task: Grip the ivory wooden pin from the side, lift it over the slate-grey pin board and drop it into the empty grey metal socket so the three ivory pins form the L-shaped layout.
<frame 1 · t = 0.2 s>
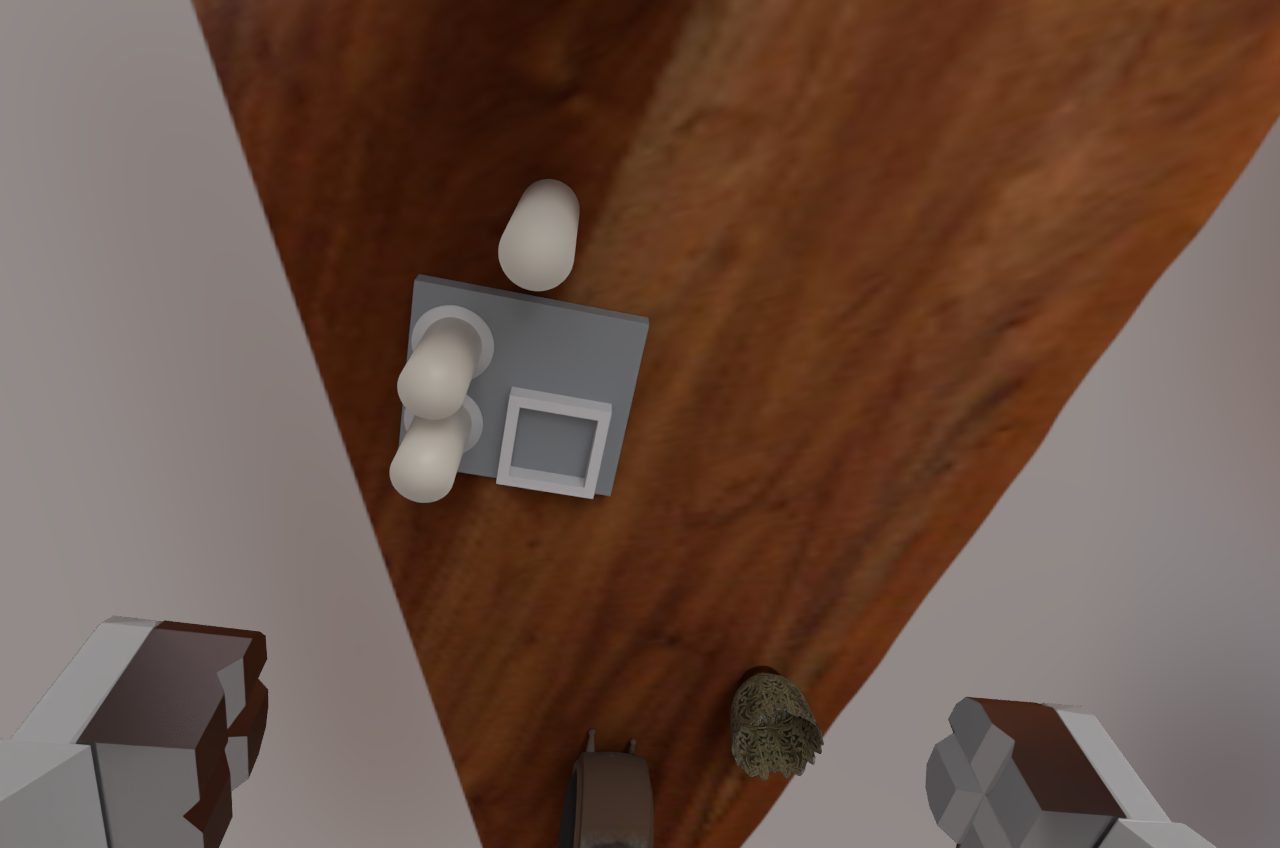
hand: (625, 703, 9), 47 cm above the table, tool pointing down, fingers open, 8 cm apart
alarm clock: (601, 763, 76), on the table
ivory pin: (549, 210, 53), on the table
cup: (759, 676, 72), on the table
pin board: (521, 387, 59), on the table
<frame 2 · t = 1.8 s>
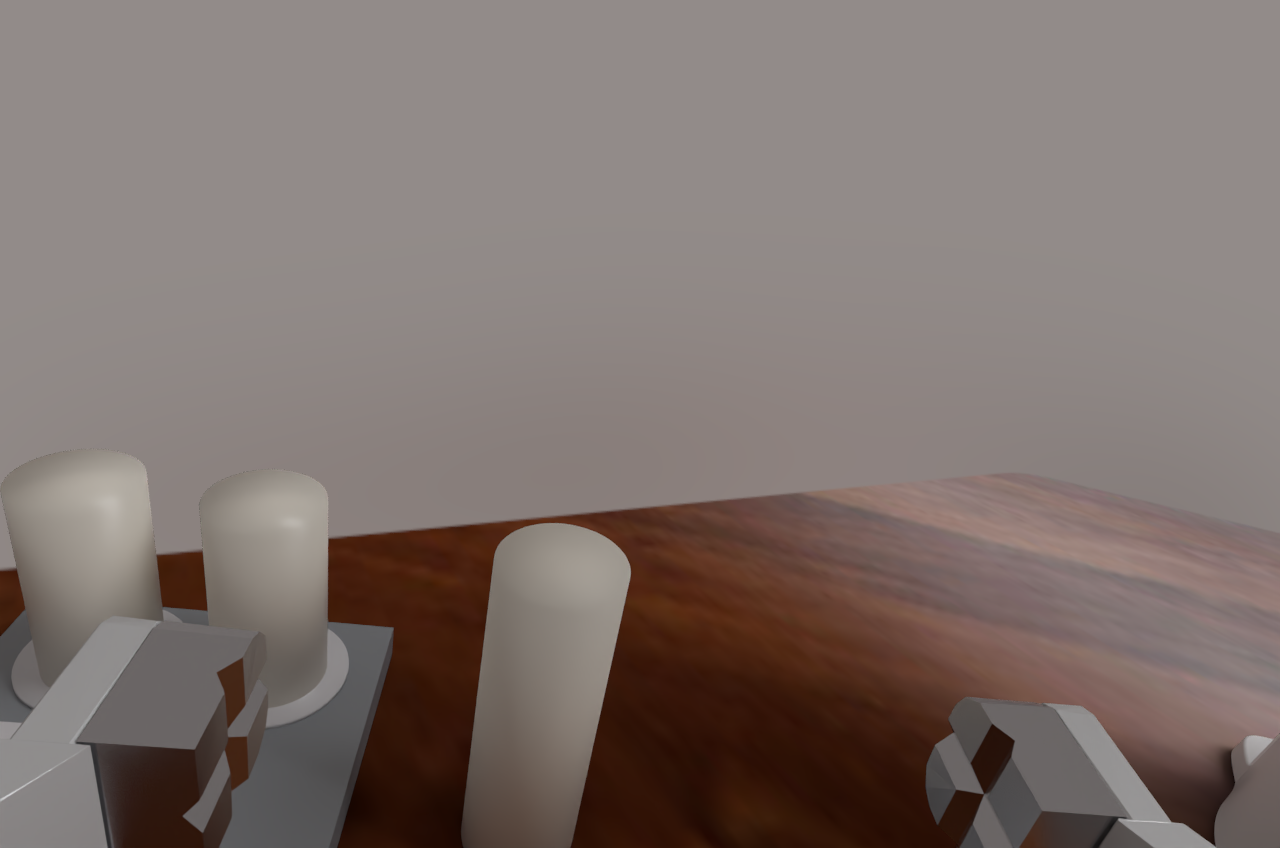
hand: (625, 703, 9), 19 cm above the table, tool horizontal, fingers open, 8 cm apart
ivory pin: (517, 829, 29), on the table
pin board: (129, 807, 27), on the table
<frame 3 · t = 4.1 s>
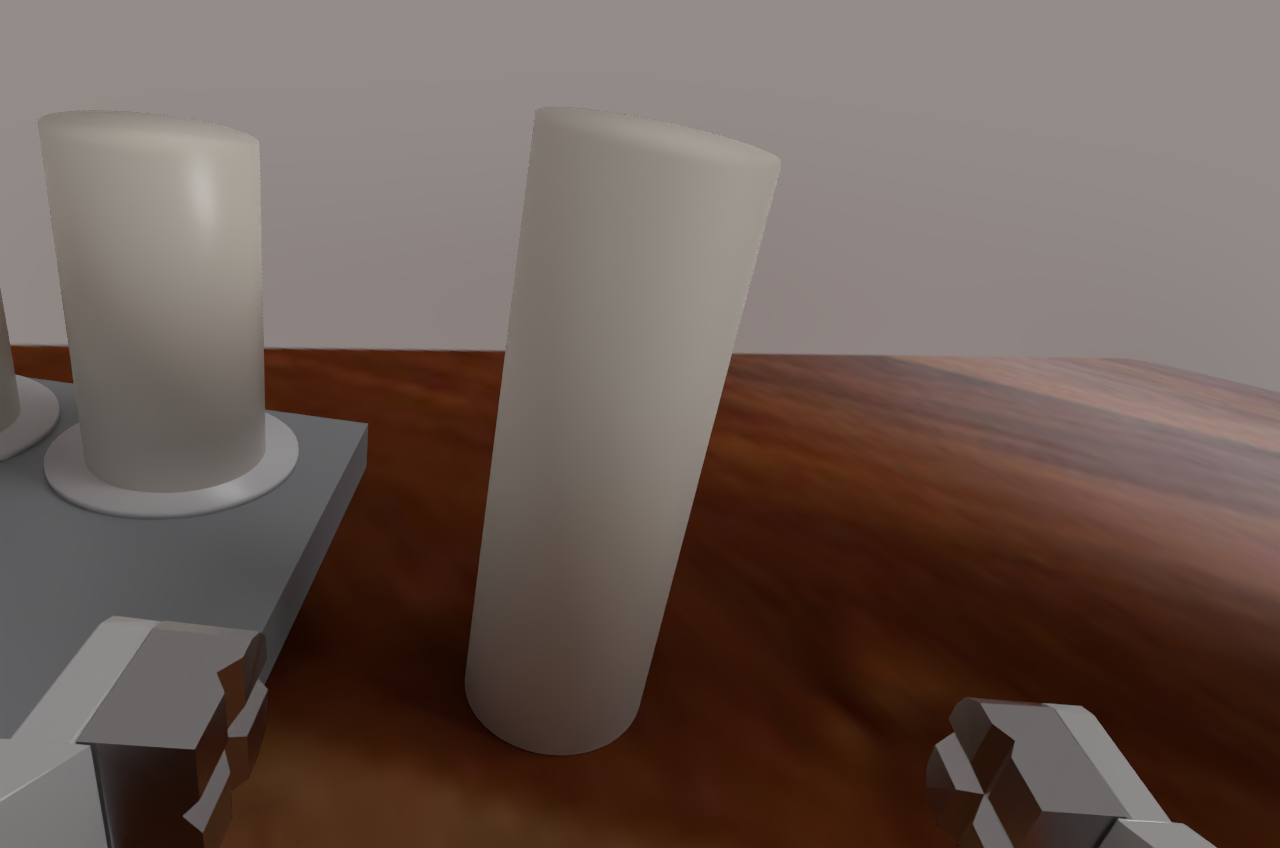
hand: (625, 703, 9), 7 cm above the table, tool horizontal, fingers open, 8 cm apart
ivory pin: (554, 682, 18), on the table
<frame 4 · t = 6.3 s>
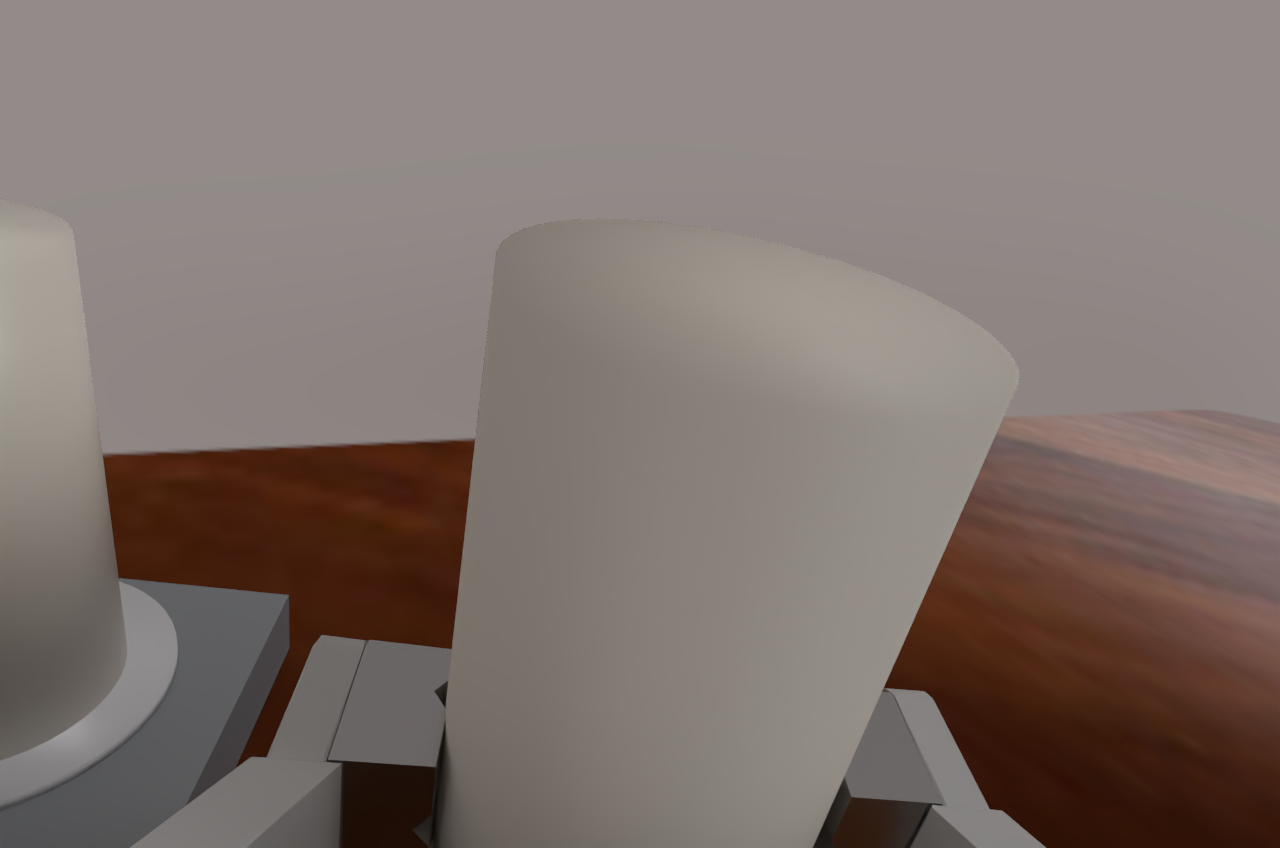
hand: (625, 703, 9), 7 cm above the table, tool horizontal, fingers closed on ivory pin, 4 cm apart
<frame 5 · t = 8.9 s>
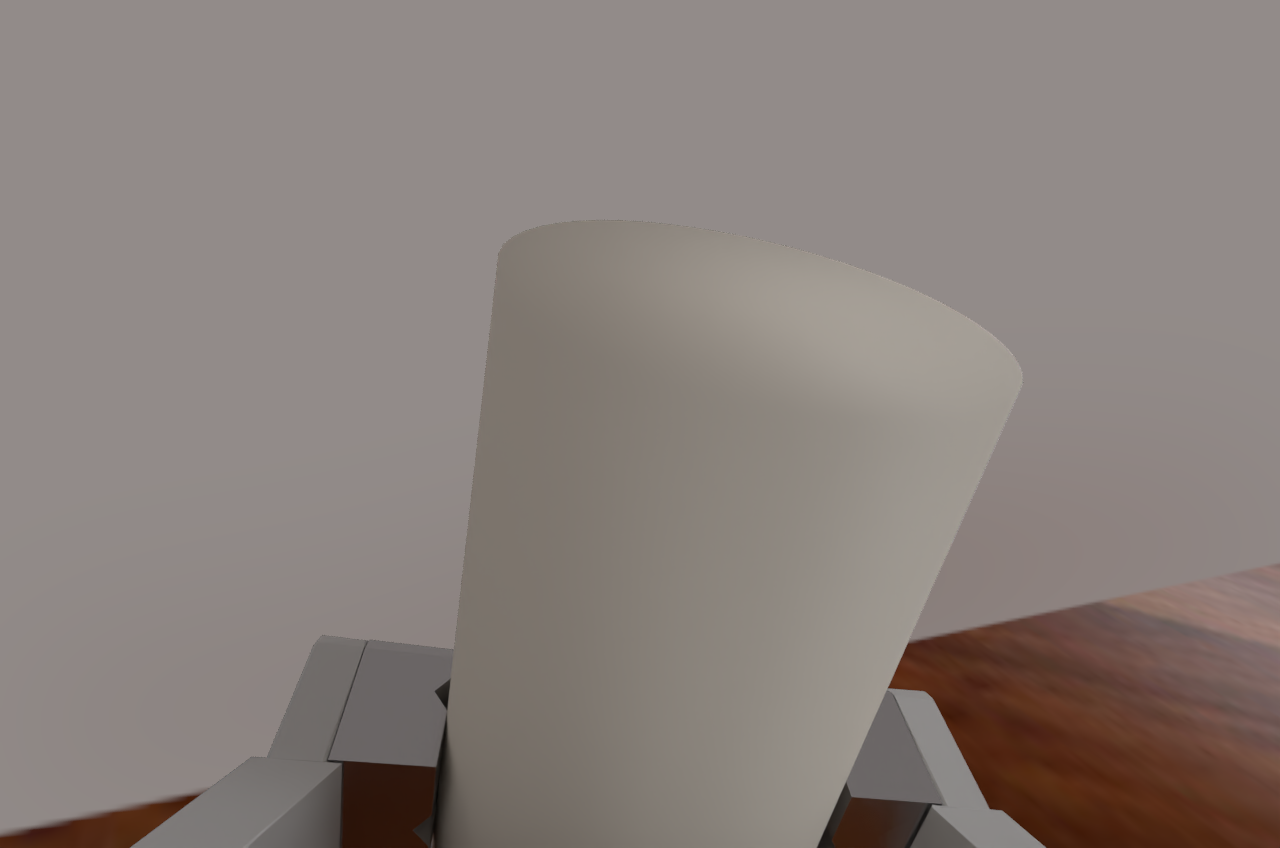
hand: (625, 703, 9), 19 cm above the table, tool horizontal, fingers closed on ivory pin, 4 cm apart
when the fingers open (9 cm above the table, at t = 11.5 s): ivory pin stays where it is, resting on pin board.
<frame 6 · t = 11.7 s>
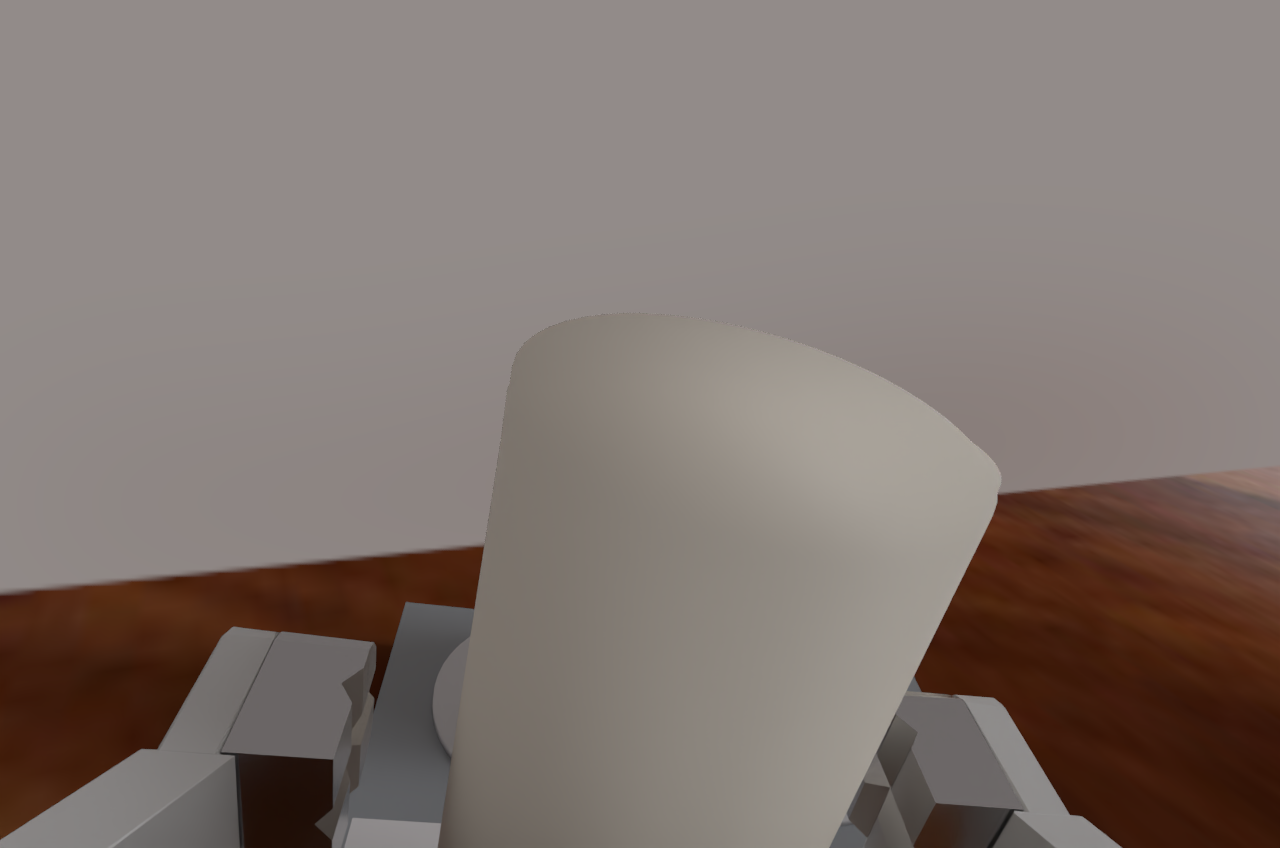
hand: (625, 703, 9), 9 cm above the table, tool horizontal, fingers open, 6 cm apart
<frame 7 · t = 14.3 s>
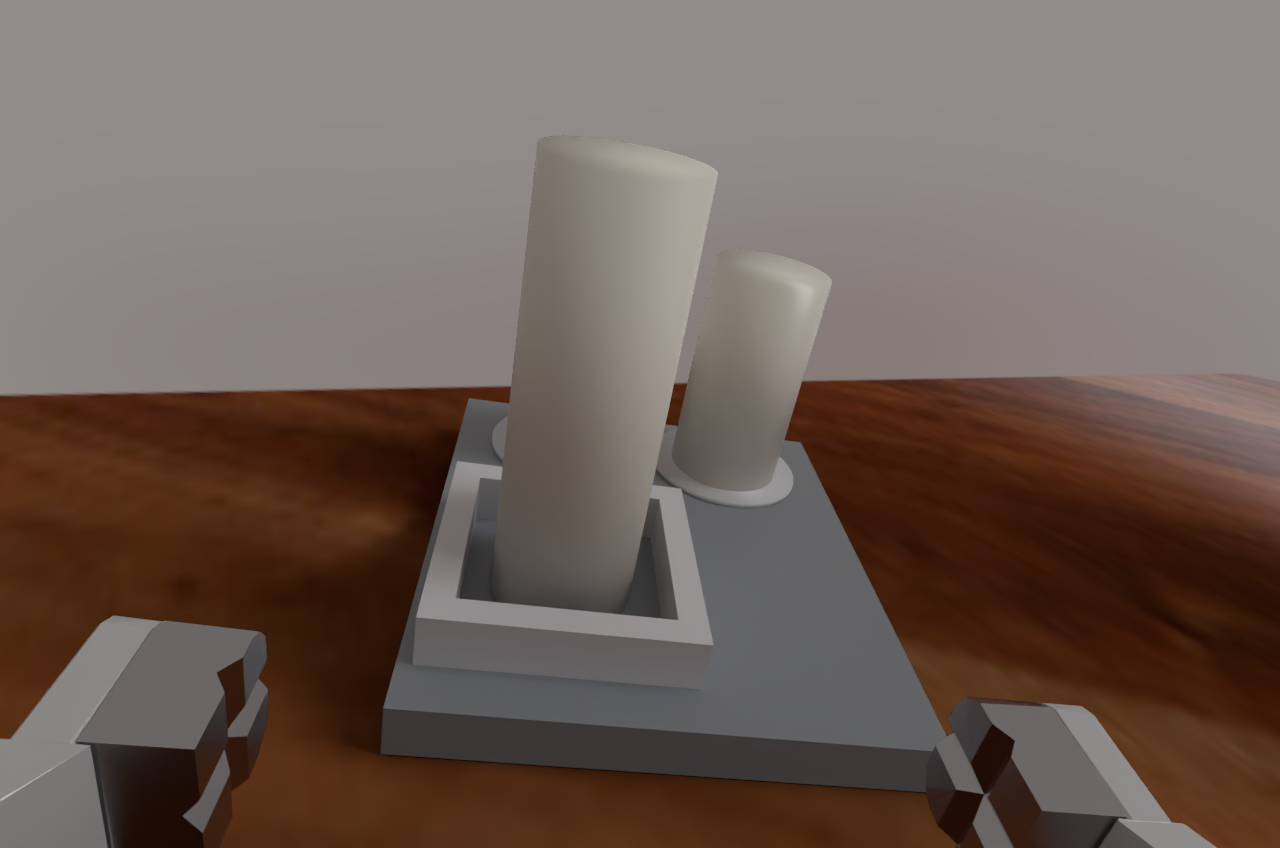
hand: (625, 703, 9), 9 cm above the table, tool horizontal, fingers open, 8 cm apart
ivory pin: (560, 584, 23), point 2 cm above the table, touching pin board
pin board: (647, 571, 27), on the table
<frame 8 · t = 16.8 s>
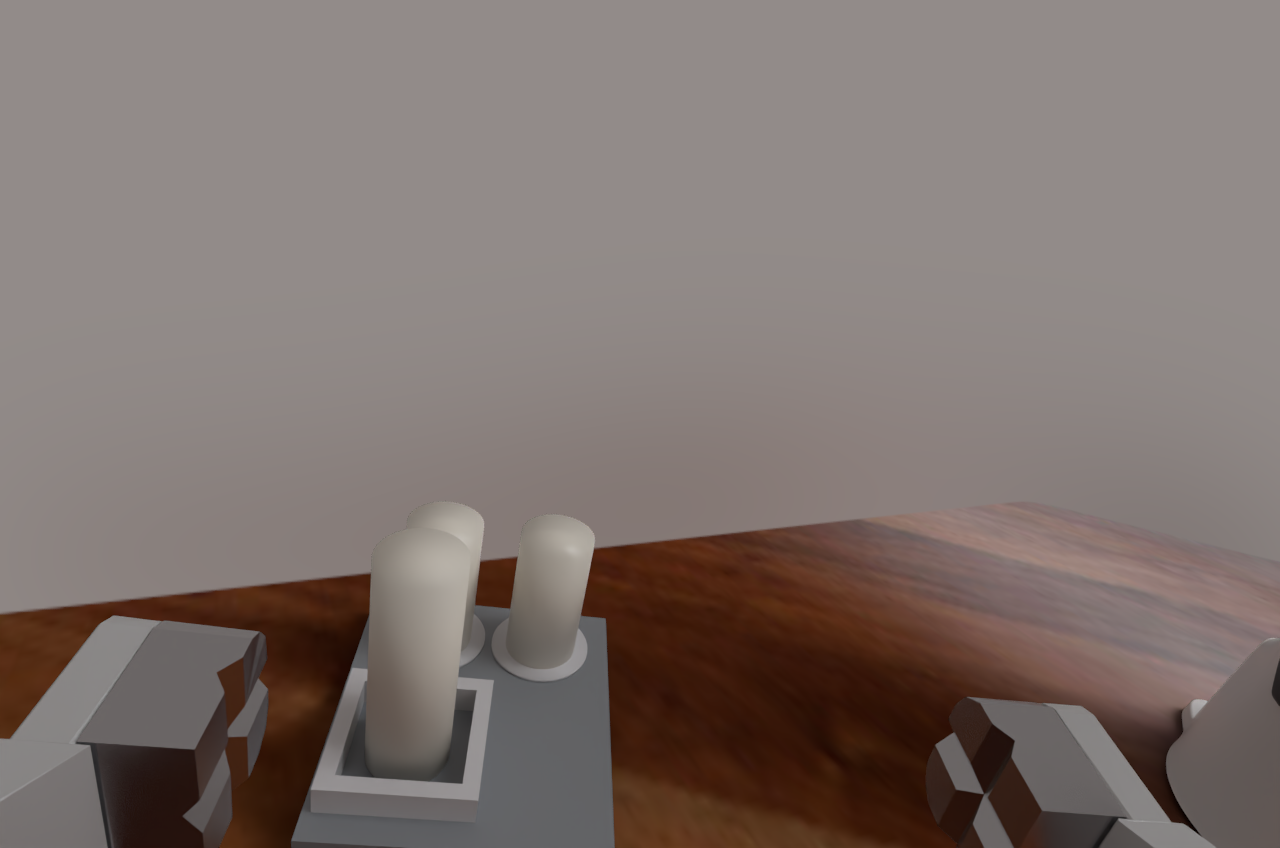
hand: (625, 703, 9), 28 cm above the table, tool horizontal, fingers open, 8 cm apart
ivory pin: (407, 751, 39), point 2 cm above the table, touching pin board
pin board: (475, 728, 43), on the table
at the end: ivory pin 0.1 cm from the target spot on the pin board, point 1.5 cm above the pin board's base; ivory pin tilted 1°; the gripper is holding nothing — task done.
